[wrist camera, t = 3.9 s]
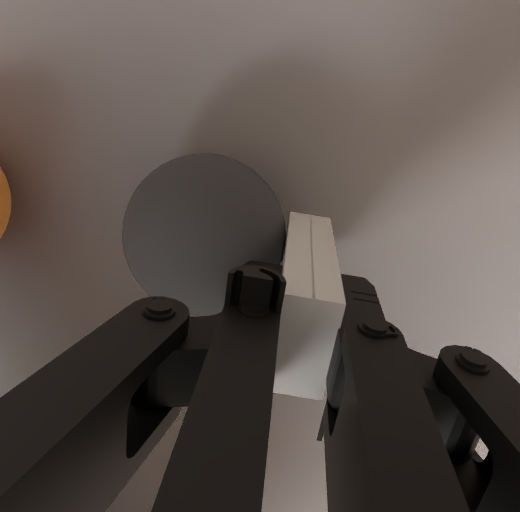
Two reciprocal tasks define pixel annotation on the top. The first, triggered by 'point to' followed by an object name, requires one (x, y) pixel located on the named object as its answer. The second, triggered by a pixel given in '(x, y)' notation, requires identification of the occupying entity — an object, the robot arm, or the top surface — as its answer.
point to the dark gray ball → (200, 229)
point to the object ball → (4, 202)
